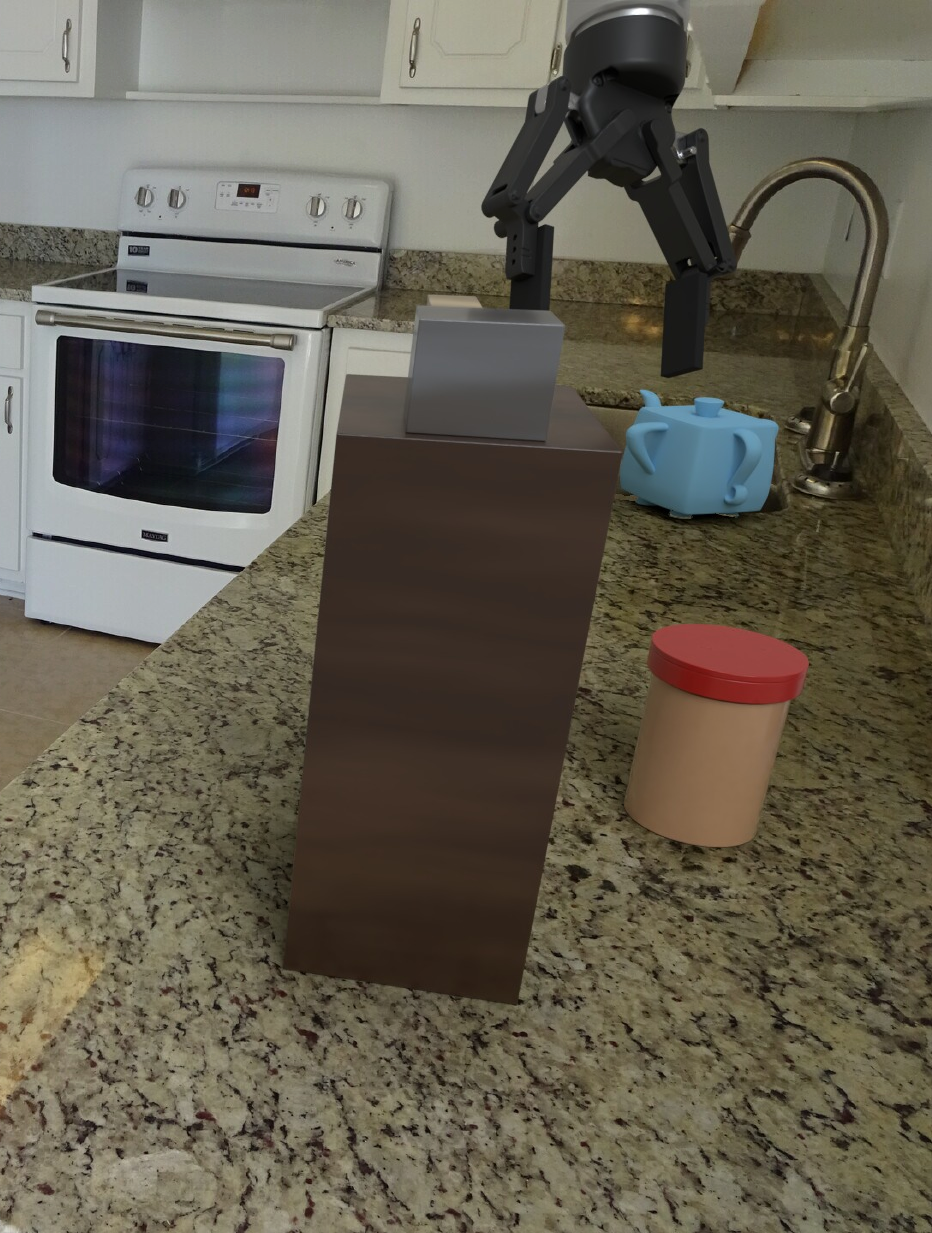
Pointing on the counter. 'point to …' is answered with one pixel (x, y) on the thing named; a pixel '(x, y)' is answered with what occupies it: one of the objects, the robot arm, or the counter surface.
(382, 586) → the stand
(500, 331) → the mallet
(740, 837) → the jam jar
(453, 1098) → the counter surface
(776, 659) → the lid
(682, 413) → the teapot
